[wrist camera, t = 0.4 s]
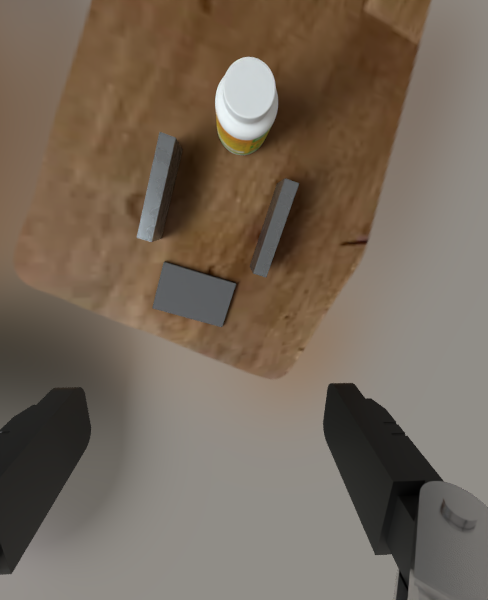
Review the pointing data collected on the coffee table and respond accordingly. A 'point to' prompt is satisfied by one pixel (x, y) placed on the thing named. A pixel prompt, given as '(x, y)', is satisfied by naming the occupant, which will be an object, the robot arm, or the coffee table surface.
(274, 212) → the grey bricks
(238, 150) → the supplement bottle
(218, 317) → the gray rectangular block
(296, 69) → the coffee table surface
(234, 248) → the coffee table surface
